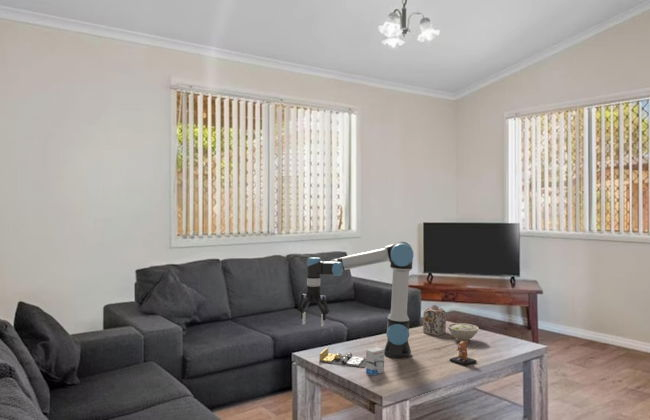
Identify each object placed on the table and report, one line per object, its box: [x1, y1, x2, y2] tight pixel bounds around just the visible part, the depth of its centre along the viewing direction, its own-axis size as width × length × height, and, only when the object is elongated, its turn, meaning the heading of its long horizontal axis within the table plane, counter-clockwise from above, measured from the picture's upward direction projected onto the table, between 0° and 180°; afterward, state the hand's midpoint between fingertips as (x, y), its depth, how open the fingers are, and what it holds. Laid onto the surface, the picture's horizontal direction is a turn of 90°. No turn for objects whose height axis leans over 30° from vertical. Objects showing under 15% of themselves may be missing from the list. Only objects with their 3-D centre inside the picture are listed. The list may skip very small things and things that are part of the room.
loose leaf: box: [319, 347, 342, 363], centre depth 265 cm, size 10×12×4 cm
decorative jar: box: [422, 304, 447, 337], centre depth 322 cm, size 12×12×18 cm
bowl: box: [446, 322, 479, 343], centre depth 304 cm, size 19×19×10 cm
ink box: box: [365, 346, 385, 376], centre depth 246 cm, size 9×5×12 cm, turn 129°
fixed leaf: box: [341, 351, 365, 366], centre depth 261 cm, size 10×13×3 cm
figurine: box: [449, 340, 478, 367], centre depth 263 cm, size 10×10×12 cm
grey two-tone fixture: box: [318, 354, 366, 369], centre depth 263 cm, size 25×14×1 cm, turn 70°
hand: (313, 325), depth 269 cm, fingers open, 10 cm apart
